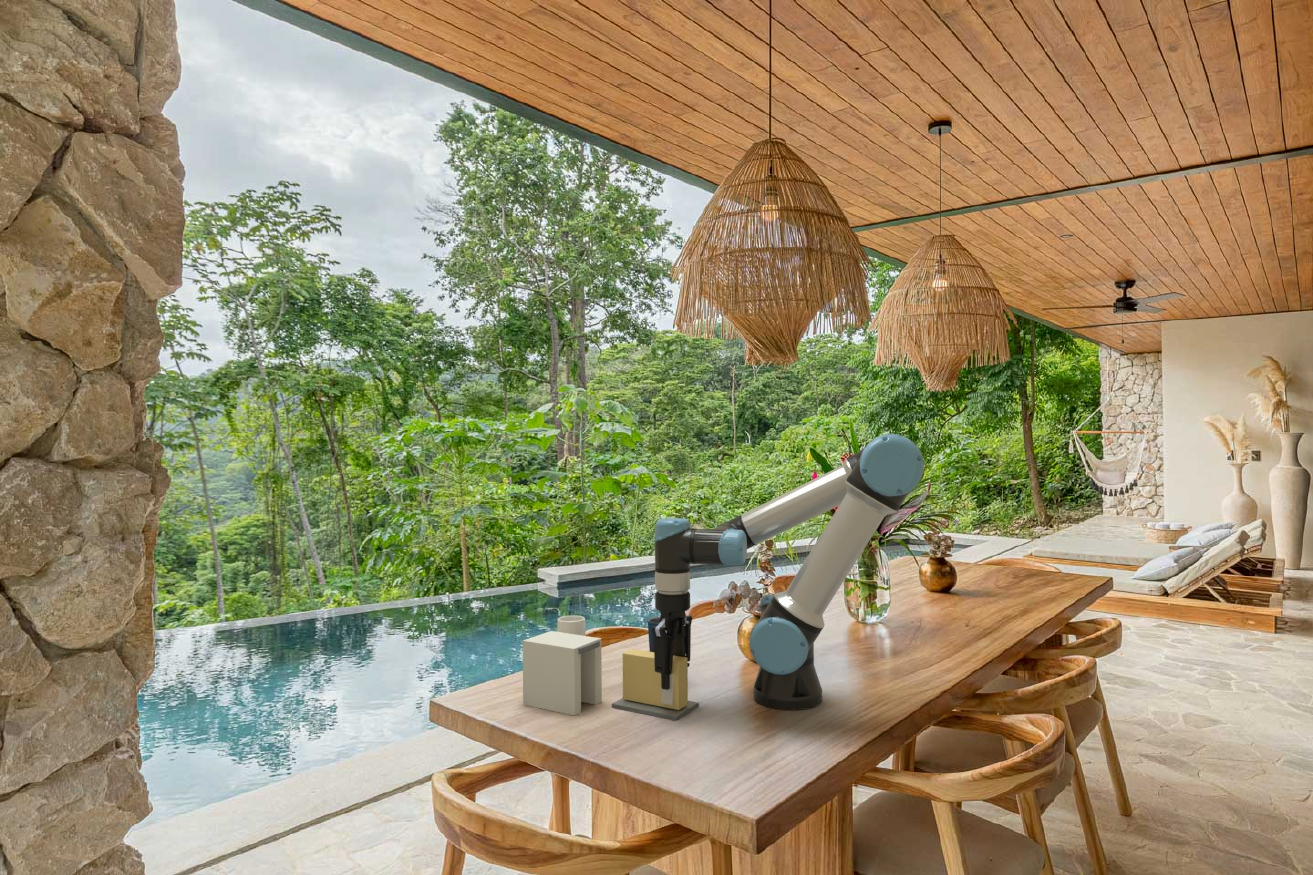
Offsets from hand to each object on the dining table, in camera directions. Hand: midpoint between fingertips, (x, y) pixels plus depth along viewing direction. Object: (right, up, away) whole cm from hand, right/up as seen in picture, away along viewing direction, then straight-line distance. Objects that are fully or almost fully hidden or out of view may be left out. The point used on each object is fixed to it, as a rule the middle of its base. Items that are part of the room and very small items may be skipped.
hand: (673, 700), depth 167 cm
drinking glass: (-24, -3, +21) cm, 32 cm away
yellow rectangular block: (-4, -1, +2) cm, 5 cm away
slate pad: (-4, -2, +2) cm, 5 cm away
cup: (-2, -2, +19) cm, 19 cm away
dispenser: (-24, -2, +5) cm, 25 cm away
